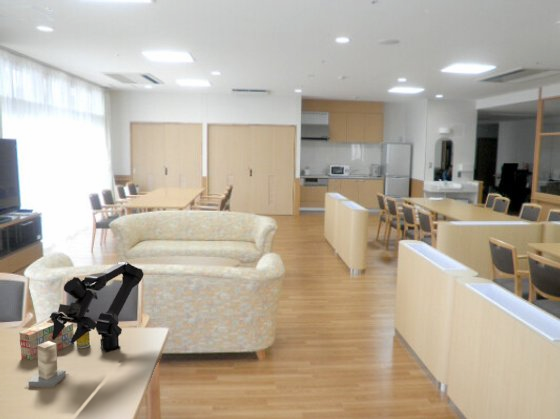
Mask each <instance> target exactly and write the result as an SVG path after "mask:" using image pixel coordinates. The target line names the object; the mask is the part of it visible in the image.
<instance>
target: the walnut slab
mask: <svg viewBox="0 0 560 419" xmlns="http://www.w3.org/2000/svg"><path fill="white" fill-rule="evenodd" d="M69 375H70V373H66V376H65V377H64V378H63V379H62V380H60V381H59V382H58V383H57V384H56V385H55V386H54V387H53V388H52V387H29V383H28V384H27V385H26V386H25V387H24V389H31V390H33V389H35V390H37V389H39V390H40V389H41V390H46V389H47V390H55V389H56V388H57V387H58V386H59V385H60V384H61V383H62V382H63V381H64V380H65V379H66V378H67V377H68V376H69Z"/></svg>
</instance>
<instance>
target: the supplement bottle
mask: <svg viewBox="0 0 560 419" xmlns="http://www.w3.org/2000/svg"><path fill="white" fill-rule="evenodd" d="M90 341H91V340H90V331H88V332H87V333H86V334H84V335H83V336H81V337H80V338H79V339H78V340H77V341H75V342H76V347H77V348H78V349H86V348H88V347H89V346H90V345H91V342H90Z"/></svg>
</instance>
